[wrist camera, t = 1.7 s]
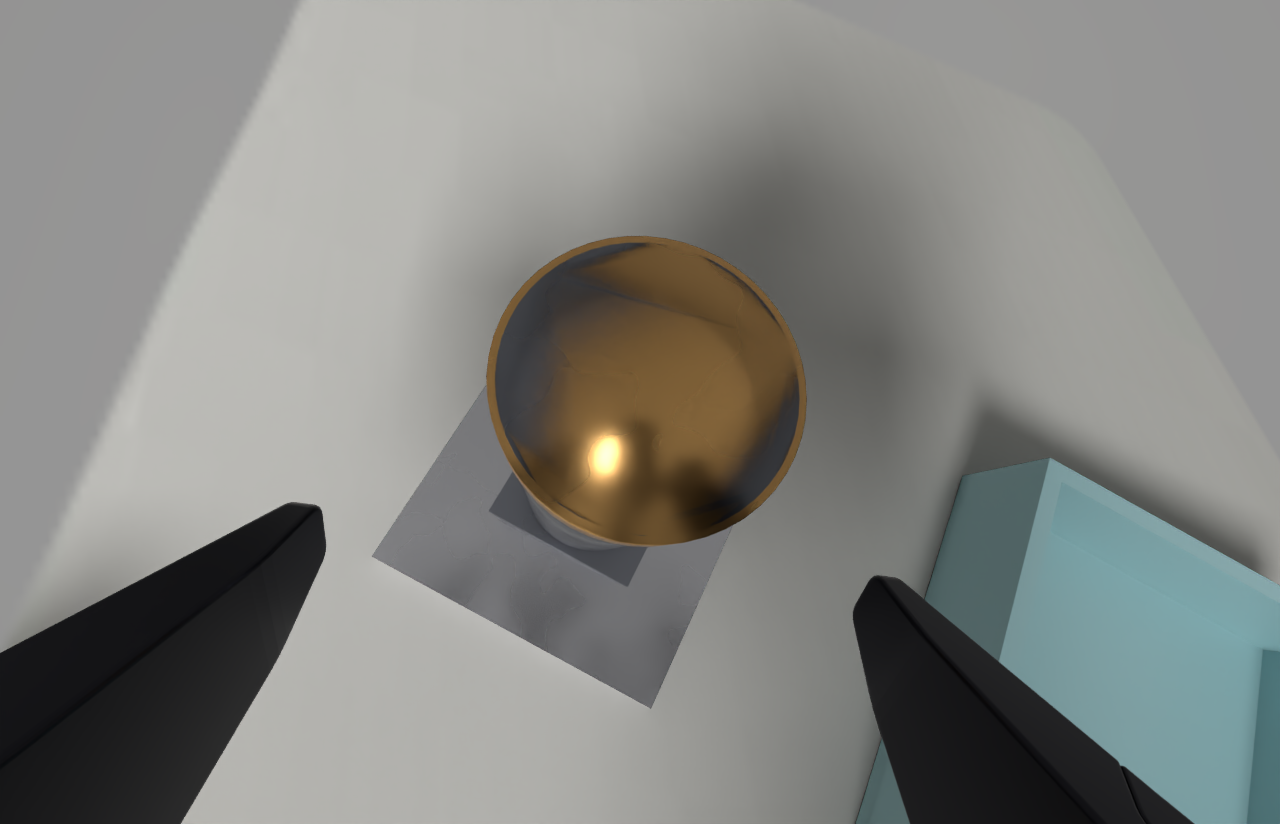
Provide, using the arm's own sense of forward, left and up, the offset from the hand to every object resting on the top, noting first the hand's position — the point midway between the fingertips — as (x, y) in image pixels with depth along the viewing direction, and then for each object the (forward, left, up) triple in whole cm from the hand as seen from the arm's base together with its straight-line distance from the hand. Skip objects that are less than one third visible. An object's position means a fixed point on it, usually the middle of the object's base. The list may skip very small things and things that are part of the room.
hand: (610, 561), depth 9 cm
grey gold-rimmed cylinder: (+2, +1, -9) cm, 10 cm away
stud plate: (+2, +1, -10) cm, 10 cm away
